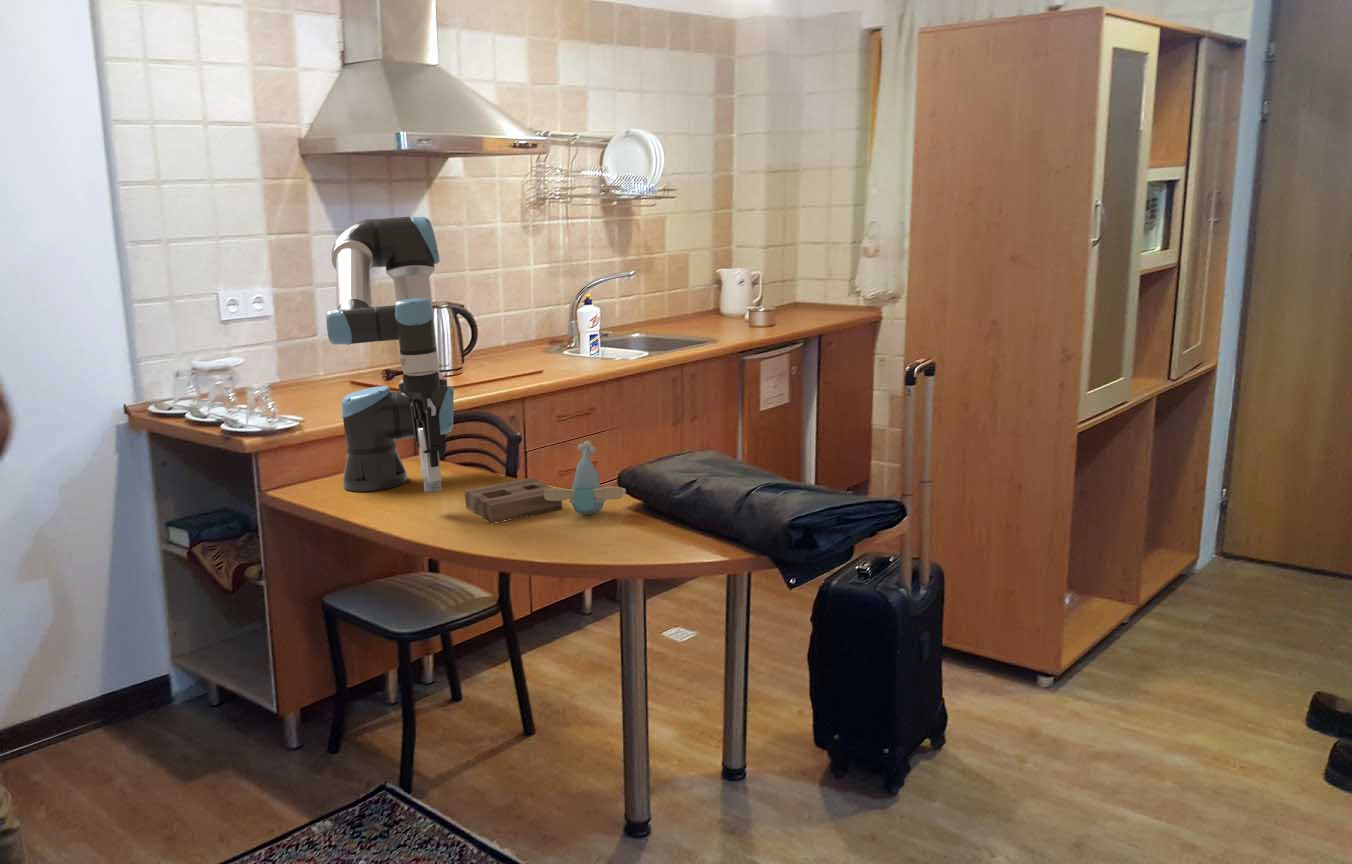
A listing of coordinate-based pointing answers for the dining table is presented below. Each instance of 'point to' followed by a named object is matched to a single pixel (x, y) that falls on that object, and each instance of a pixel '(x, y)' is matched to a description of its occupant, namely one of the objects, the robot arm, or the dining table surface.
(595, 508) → the toy figure
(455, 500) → the dining table surface
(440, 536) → the dining table surface
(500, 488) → the block
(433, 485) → the pin
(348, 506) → the dining table surface
